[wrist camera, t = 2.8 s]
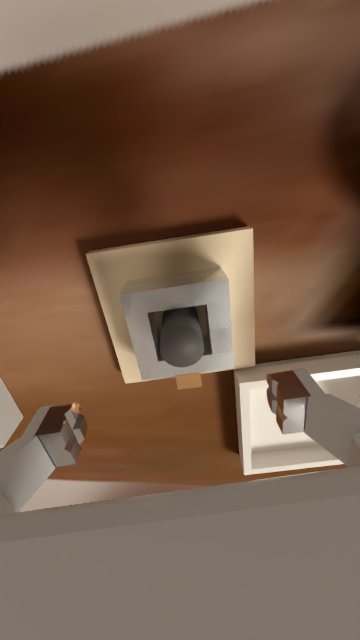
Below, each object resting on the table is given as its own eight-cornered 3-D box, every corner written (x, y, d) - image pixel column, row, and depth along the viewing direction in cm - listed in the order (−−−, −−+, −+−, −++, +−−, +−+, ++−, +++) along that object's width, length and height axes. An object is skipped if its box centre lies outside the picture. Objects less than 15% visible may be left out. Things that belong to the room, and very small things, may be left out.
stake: (248, 226, 16) (278, 240, 11) (251, 358, 20) (273, 406, 16) (90, 250, 16) (58, 273, 12) (127, 375, 21) (114, 425, 16)
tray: (372, 348, 20) (392, 363, 18) (351, 442, 25) (364, 461, 23) (233, 366, 21) (239, 383, 19) (239, 455, 25) (244, 475, 24)
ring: (221, 267, 16) (228, 278, 14) (228, 360, 19) (235, 382, 17) (126, 281, 16) (119, 294, 14) (148, 371, 19) (145, 393, 17)
